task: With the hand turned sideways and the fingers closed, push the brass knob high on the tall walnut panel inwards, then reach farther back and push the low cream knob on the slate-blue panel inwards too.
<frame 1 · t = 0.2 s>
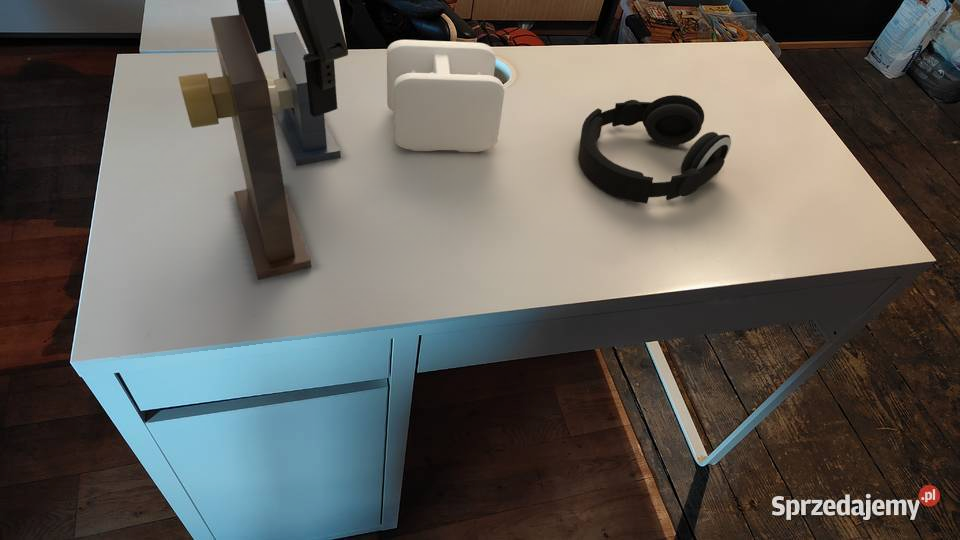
hand: (290, 80, 70), 17 cm above the table, tool pointing down, fingers open, 13 cm apart
panel front: (272, 231, 79), on the table
panel back: (305, 131, 92), on the table
headphones: (644, 166, 95), on the table
knob back: (282, 93, 86), point 7 cm above the table, slide at -0.1 cm
cable organizer: (440, 132, 95), on the table
knob front: (220, 97, 64), point 19 cm above the table, slide at -0.1 cm
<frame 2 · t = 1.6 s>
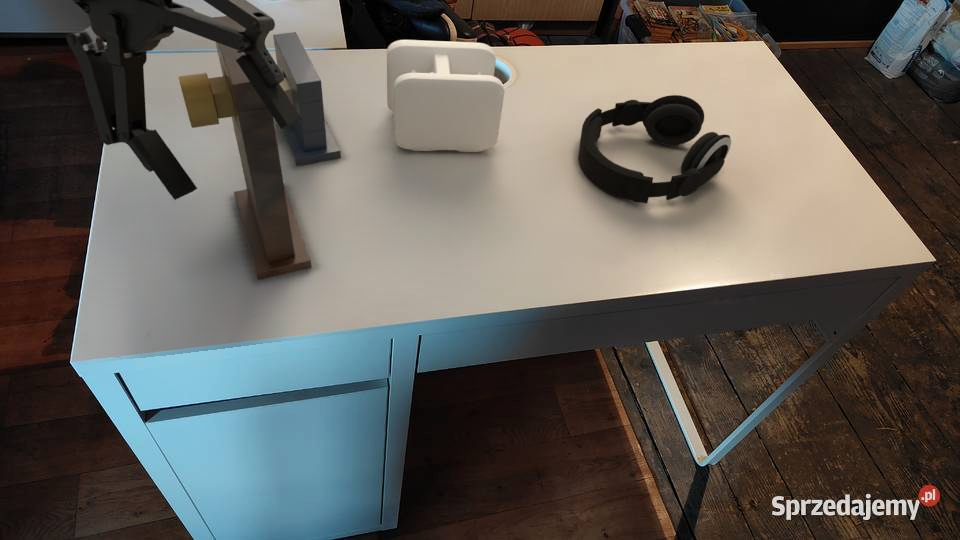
hand: (237, 161, 60), 17 cm above the table, tool tilted 45°, fingers open, 13 cm apart
nothing on the table moved.
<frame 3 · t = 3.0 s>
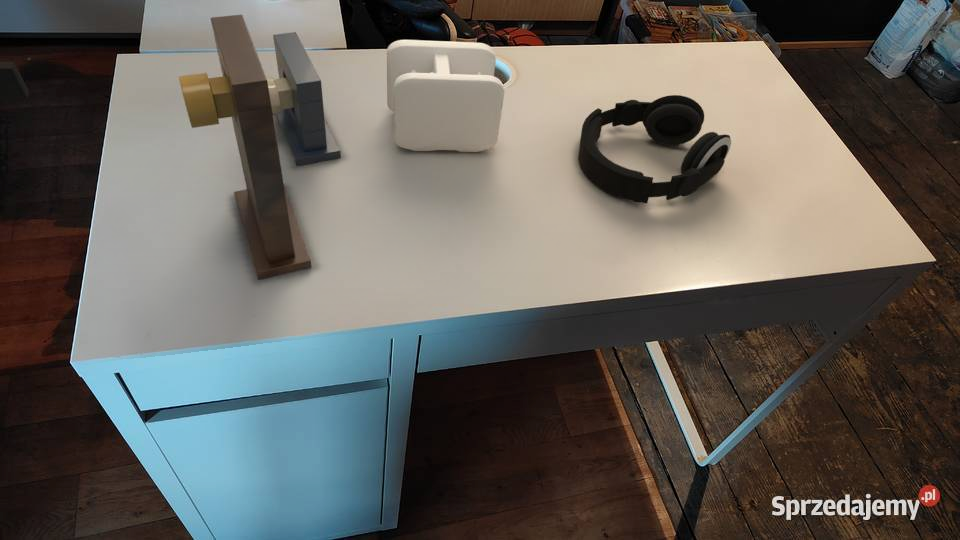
hand: (36, 19, 50), 30 cm above the table, tool horizontal, fingers open, 13 cm apart
nothing on the table moved.
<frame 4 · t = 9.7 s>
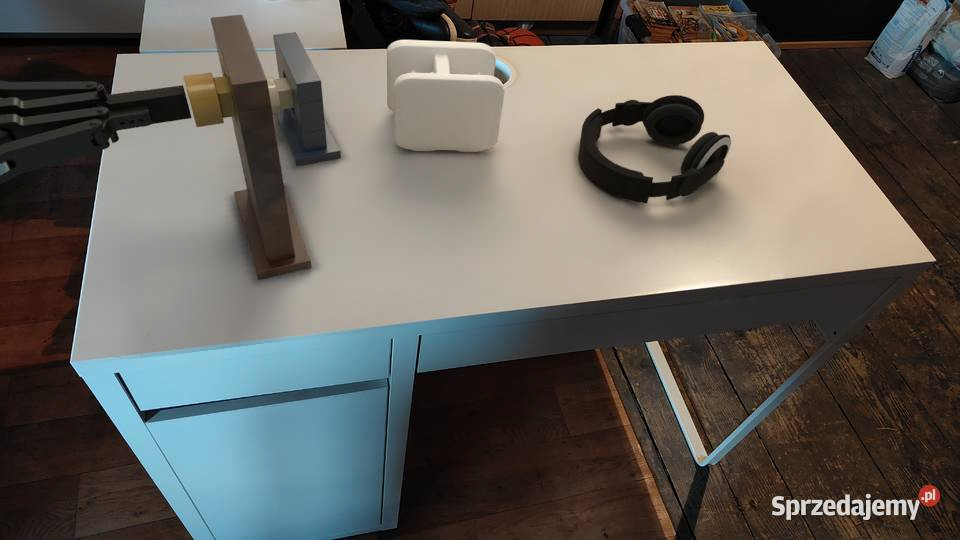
hand: (187, 101, 63), 19 cm above the table, tool horizontal, fingers closed
knob front: (225, 96, 64), point 19 cm above the table, slide at 0.3 cm, touching gripper
everything else where it was.
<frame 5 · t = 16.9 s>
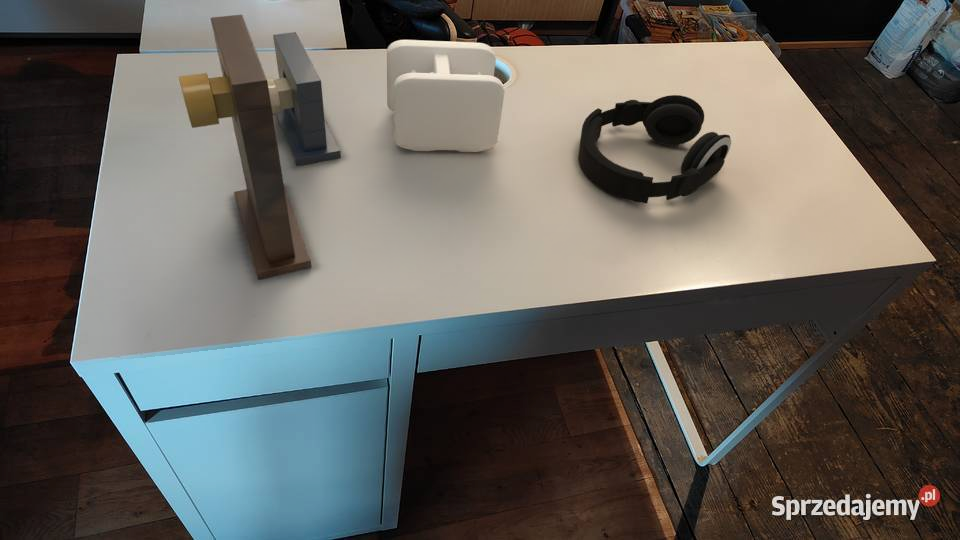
knob front: (221, 97, 64), point 19 cm above the table, slide at -0.1 cm
everything else where it was.
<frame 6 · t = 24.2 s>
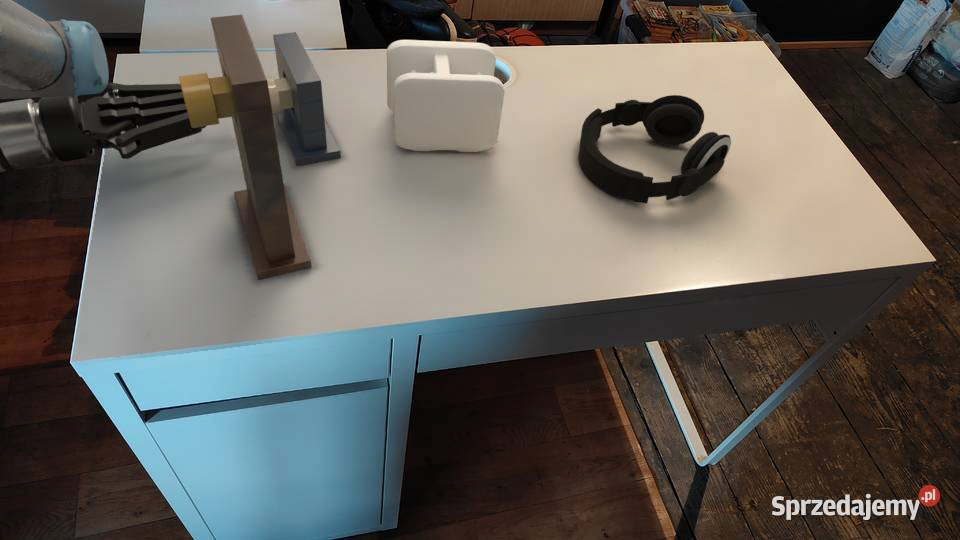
hand: (254, 97, 85), 6 cm above the table, tool horizontal, fingers closed
knob back: (282, 93, 86), point 7 cm above the table, slide at -0.1 cm, touching gripper
everything else where it was.
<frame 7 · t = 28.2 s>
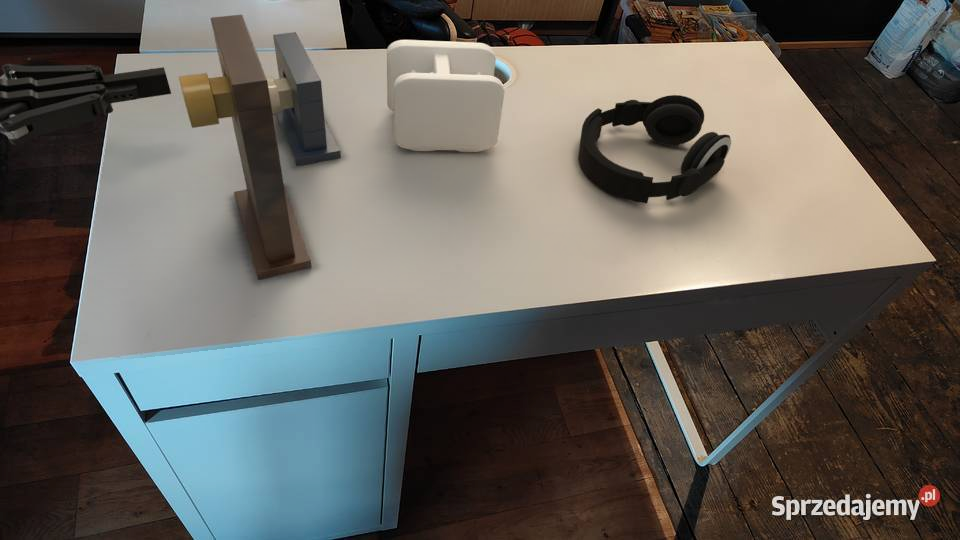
hand: (167, 80, 79), 11 cm above the table, tool horizontal, fingers closed
knob back: (282, 93, 86), point 7 cm above the table, slide at -0.1 cm
everything else where it was.
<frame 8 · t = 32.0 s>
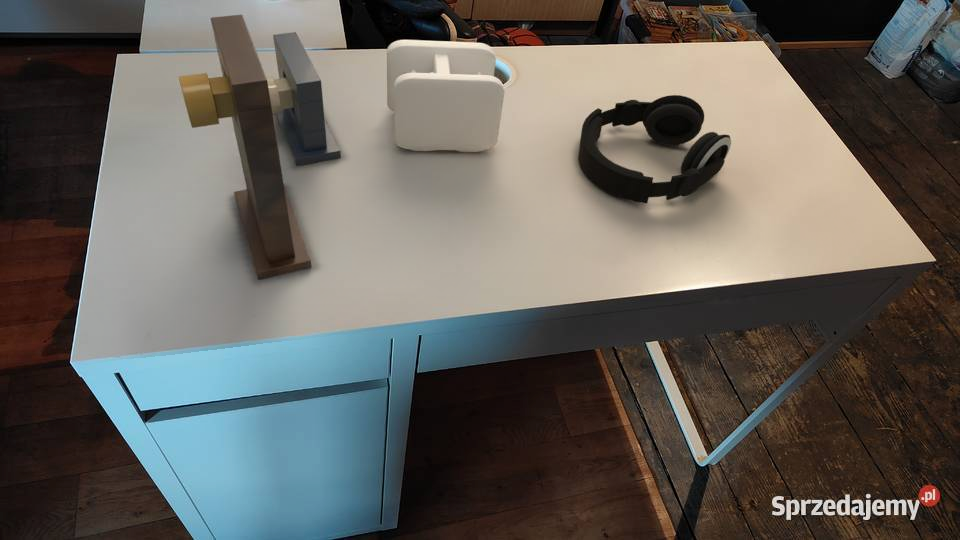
nothing on the table moved.
at the end: knob front pulled out 1.5 cm at the most during the clip, back to where it started at the end; knob back pulled out 1.5 cm at the most during the clip, back to where it started at the end; knob back slide at -0.1 cm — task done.
